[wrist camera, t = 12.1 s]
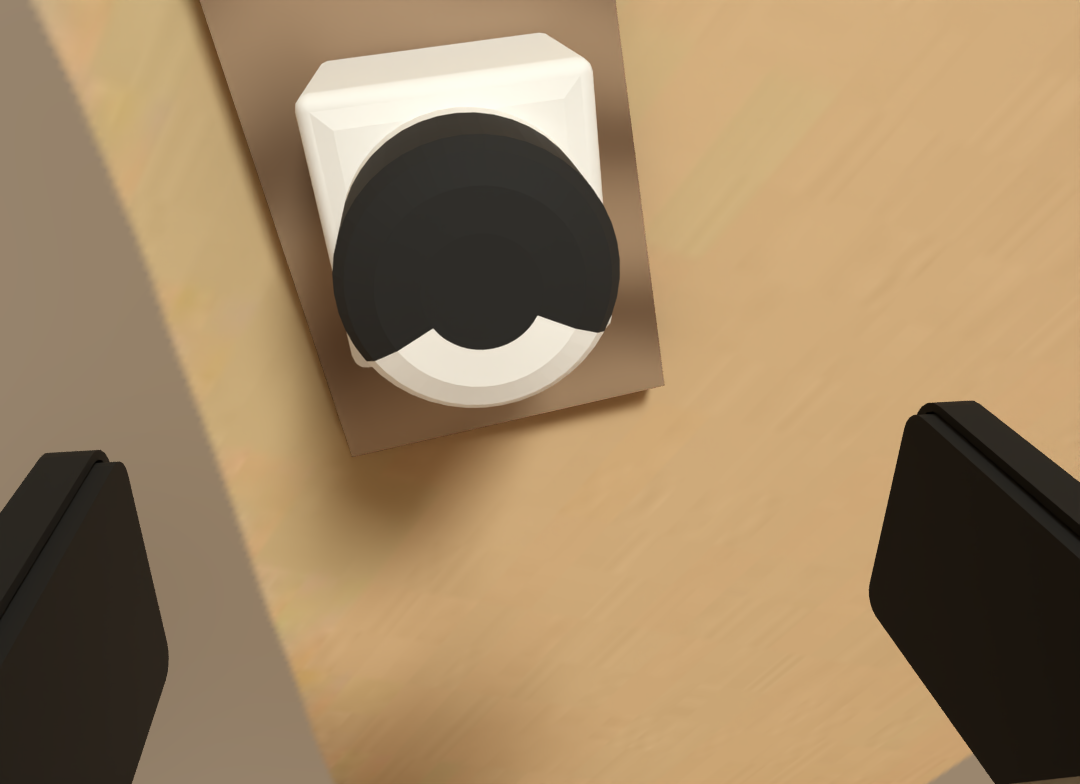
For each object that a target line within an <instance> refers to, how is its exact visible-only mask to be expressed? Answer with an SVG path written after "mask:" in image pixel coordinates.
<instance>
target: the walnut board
mask: <svg viewBox="0 0 1080 784" xmlns="http://www.w3.org/2000/svg"><path fill="white" fill-rule="evenodd" d="M200 3H201V6H202V9H203V12H204V15H205V18H206V21H207V24H208V27H209V30H210V33H211V36H212V39H213V42H214V45H215V48H216V51H217V54H218V57H219V60H220V63H221V66H222V69H223V72H224V75H225V78H226V81H227V84H228V87H229V90H230V93H231V96H232V99H233V102H234V105H235V108H236V111H237V114H238V117H239V120H240V123H241V126H242V129H243V132H244V135H245V138H246V141H247V144H248V147H249V150H250V153H251V156H252V159H253V162H254V165H255V168H256V171H257V174H258V176H259V179H260V182H261V185H262V188H263V191H264V194H265V197H266V200H267V203H268V206H269V209H270V212H271V215H272V218H273V221H274V224H275V227H276V230H277V233H278V236H279V239H280V242H281V245H282V248H283V251H284V254H285V257H286V260H287V263H288V266H289V269H290V272H291V275H292V278H293V281H294V284H295V287H296V290H297V293H298V296H299V299H300V302H301V305H302V308H303V311H304V314H305V317H306V320H307V323H308V326H309V329H310V332H311V335H312V338H313V341H314V344H315V347H316V350H317V353H318V356H319V359H320V362H321V365H322V368H323V371H324V374H325V377H326V380H327V383H328V386H329V389H330V392H331V395H332V398H333V401H334V404H335V407H336V410H337V413H338V416H339V419H340V422H341V425H342V428H343V431H344V434H345V437H346V440H347V443H348V446H349V449H350V452H351V455H352V457H354V456H359V455H363V454H368V453H372V452H376V451H381V450H385V449H389V448H394V447H398V446H403V445H407V444H411V443H416V442H420V441H424V440H429V439H433V438H437V437H442V436H446V435H451V434H455V433H459V432H464V431H468V430H472V429H477V428H481V427H486V426H490V425H494V424H499V423H503V422H507V421H512V420H516V419H521V418H525V417H529V416H534V415H538V414H542V413H547V412H551V411H556V410H560V409H564V408H569V407H573V406H577V405H582V404H586V403H591V402H595V401H599V400H604V399H608V398H612V397H617V396H621V395H625V394H630V393H634V392H639V391H643V390H647V389H652V388H656V387H660V386H665V385H664V378H663V370H662V362H661V354H660V346H659V338H658V330H657V323H656V315H655V307H654V299H653V291H652V283H651V275H650V268H649V260H648V252H647V244H646V236H645V228H644V220H643V213H642V205H641V197H640V189H639V181H638V173H637V166H636V158H635V150H634V142H633V134H632V126H631V118H630V111H629V103H628V95H627V87H626V79H625V71H624V63H623V56H622V48H621V40H620V32H619V24H618V16H617V8H616V1H615V0H200ZM533 33H545V34H547V35H548V36H550V37H552V38H553V39H555V40H556V41H558V42H560V43H561V44H563V45H564V46H566V47H567V48H569V49H571V50H572V51H574V52H575V53H577V54H579V55H580V56H582V57H583V58H585V59H586V60H587V61H588V62H589V63H590V64H591V67H592V70H593V81H594V94H595V106H596V119H597V132H598V145H599V158H600V170H601V183H602V196H603V205H604V207H605V209H606V211H607V213H608V216H609V218H610V220H611V222H612V225H613V228H614V232H615V235H616V239H617V243H618V250H619V257H620V280H619V287H618V294H617V299H616V302H615V306H614V309H613V312H612V317H611V322H610V324H609V325H608V327H607V328H606V329H605V331H604V333H603V334H602V336H601V337H600V339H599V341H598V342H597V344H596V346H595V347H594V348H593V350H592V351H591V352H590V353H589V354H588V356H587V357H586V358H585V359H584V360H583V362H582V363H580V364H579V365H578V366H577V367H576V368H575V369H574V370H573V371H572V372H571V373H570V374H569V375H567V376H566V377H564V378H563V379H562V380H560V381H559V382H557V383H556V384H555V385H553V386H551V387H549V388H548V389H546V390H544V391H542V392H540V393H538V394H536V395H533V396H531V397H528V398H526V399H523V400H521V401H517V402H513V403H509V404H506V405H500V406H493V407H486V408H463V407H454V406H447V405H442V404H438V403H434V402H430V401H427V400H425V399H422V398H419V397H417V396H414V395H412V394H410V393H408V392H406V391H404V390H402V389H401V388H399V387H397V386H395V385H394V384H392V383H391V382H390V381H388V380H387V379H385V378H384V377H383V376H381V375H380V374H379V373H378V372H377V371H376V370H375V369H374V368H373V367H361V366H359V365H358V364H356V362H355V360H354V359H353V357H352V354H351V349H350V345H349V341H348V337H347V332H346V331H345V328H344V326H343V323H342V321H341V318H340V316H339V313H338V309H337V305H336V301H335V297H334V290H333V278H332V268H331V264H330V259H329V255H328V251H327V247H326V242H325V238H324V234H323V229H322V225H321V221H320V217H319V212H318V208H317V204H316V199H315V195H314V191H313V187H312V182H311V178H310V174H309V169H308V165H307V161H306V157H305V152H304V148H303V144H302V139H301V135H300V131H299V127H298V122H297V118H296V114H295V103H296V102H297V100H298V99H299V97H300V96H301V94H302V93H303V91H304V90H305V88H306V87H307V85H308V84H309V82H310V81H311V79H312V78H313V76H314V74H315V73H316V71H317V70H318V68H319V67H320V65H321V64H322V63H324V62H326V61H331V60H339V59H346V58H354V57H361V56H368V55H376V54H383V53H391V52H398V51H406V50H413V49H421V48H428V47H436V46H443V45H451V44H458V43H465V42H473V41H480V40H488V39H495V38H503V37H510V36H518V35H525V34H533Z"/></svg>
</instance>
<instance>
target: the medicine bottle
mask: <svg viewBox="0 0 1080 784" xmlns="http://www.w3.org/2000/svg"><path fill="white" fill-rule="evenodd" d="M295 114H296V118H297V122H298V127H299V131H300V135H301V139H302V144H303V148H304V152H305V157H306V161H307V165H308V169H309V174H310V178H311V182H312V187H313V191H314V195H315V199H316V204H317V208H318V212H319V217H320V221H321V225H322V229H323V234H324V238H325V242H326V247H327V251H328V255H329V259H330V264H331V268H332V278H333V290H334V297H335V301H336V305H337V309H338V313H339V316H340V318H341V321H342V323H343V326H344V328H345V331H346V332H347V337H348V341H349V345H350V349H351V354H352V357H353V359H354V360H355V362H356V364H358V365H359V366H361V367H373V368H374V369H375V370H376V371H377V372H378V373H379V374H380V375H381V376H383V377H384V378H385V379H387V380H388V381H390V382H391V383H392V384H394V385H395V386H397V387H399V388H401V389H402V390H404V391H406V392H408V393H410V394H412V395H414V396H417V397H419V398H422V399H425V400H427V401H430V402H434V403H438V404H442V405H447V406H454V407H463V408H486V407H493V406H500V405H506V404H509V403H513V402H517V401H521V400H523V399H526V398H528V397H531V396H533V395H536V394H538V393H540V392H542V391H544V390H546V389H548V388H549V387H551V386H553V385H555V384H556V383H557V382H559V381H560V380H562V379H563V378H564V377H566V376H567V375H569V374H570V373H571V372H572V371H573V370H574V369H575V368H576V367H577V366H578V365H579V364H580V363H582V362H583V360H584V359H585V358H586V357H587V356H588V354H589V353H590V352H591V351H592V350H593V348H594V347H595V346H596V344H597V342H598V341H599V339H600V337H601V336H602V334H603V333H604V331H605V329H606V328H607V327H608V325H609V324H610V322H611V317H612V312H613V309H614V306H615V302H616V299H617V294H618V287H619V280H620V257H619V250H618V243H617V239H616V235H615V232H614V228H613V225H612V222H611V220H610V218H609V216H608V213H607V211H606V209H605V207H604V205H603V196H602V183H601V170H600V158H599V145H598V132H597V119H596V106H595V94H594V81H593V70H592V67H591V64H590V63H589V62H588V61H587V60H586V59H585V58H583V57H582V56H580V55H579V54H577V53H575V52H574V51H572V50H571V49H569V48H567V47H566V46H564V45H563V44H561V43H560V42H558V41H556V40H555V39H553V38H552V37H550V36H548V35H547V34H545V33H533V34H525V35H518V36H510V37H503V38H495V39H488V40H480V41H473V42H465V43H458V44H451V45H443V46H436V47H428V48H421V49H413V50H406V51H398V52H391V53H383V54H376V55H368V56H361V57H354V58H346V59H339V60H331V61H326V62H324V63H322V64H321V65H320V67H319V68H318V70H317V71H316V73H315V74H314V76H313V78H312V79H311V81H310V82H309V84H308V85H307V87H306V88H305V90H304V91H303V93H302V94H301V96H300V97H299V99H298V100H297V102H296V103H295Z"/></svg>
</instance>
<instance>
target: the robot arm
mask: <svg viewBox="0 0 1080 784" xmlns="http://www.w3.org/2000/svg"><path fill="white" fill-rule="evenodd" d="M869 598H870V603H871V607H872V609H873V612H874V614H875V615H876V617H877V619H878V620H879V621H880V623H881V624H882V626H883V627H884V628H885V630H886V631H887V633H888V634H889V635H890V637H891V638H892V640H893V641H894V643H895V644H896V645H897V647H898V648H899V650H900V651H901V652H902V654H903V655H904V657H905V658H906V659H907V661H908V662H909V664H910V665H911V666H912V668H913V669H914V671H915V672H916V673H917V675H918V676H919V678H920V679H921V681H922V682H923V683H924V685H925V686H926V688H927V689H928V690H929V692H930V693H931V695H932V696H933V697H934V699H935V700H936V702H937V703H938V704H939V706H940V707H941V709H942V710H943V711H944V713H945V714H946V716H947V717H948V718H949V720H950V721H951V723H952V724H953V726H954V727H955V728H956V730H957V731H958V733H959V734H960V735H961V737H962V738H963V740H964V741H965V742H966V744H967V745H968V747H969V748H970V749H971V751H972V752H973V754H974V755H975V756H976V758H977V759H978V761H979V762H980V764H981V765H982V766H983V768H984V769H985V771H986V772H987V773H988V775H989V776H990V778H991V779H992V780H993V782H994V783H995V784H1080V482H1079V481H1077V480H1076V479H1075V478H1073V477H1072V476H1071V475H1070V474H1068V473H1067V472H1066V471H1065V470H1063V469H1062V468H1061V467H1059V466H1058V465H1057V464H1056V463H1054V462H1053V461H1052V460H1051V459H1049V458H1048V457H1047V456H1045V455H1044V454H1043V453H1042V452H1040V451H1039V450H1038V449H1036V448H1035V447H1034V446H1033V445H1031V444H1030V443H1029V442H1028V441H1026V440H1025V439H1024V438H1022V437H1021V436H1020V435H1019V434H1017V433H1016V432H1015V431H1014V430H1012V429H1011V428H1010V427H1008V426H1007V425H1006V424H1005V423H1003V422H1002V421H1001V420H999V419H998V418H997V417H996V416H994V415H993V414H992V413H991V412H989V411H988V410H987V409H985V408H984V407H983V406H982V405H980V404H979V403H977V402H975V401H955V402H937V403H927V404H925V405H924V406H922V407H921V409H920V410H919V411H918V413H917V415H913V416H911V417H910V418H909V419H908V421H907V422H906V425H905V428H904V432H903V437H902V441H901V446H900V450H899V455H898V459H897V464H896V468H895V473H894V477H893V482H892V486H891V491H890V495H889V500H888V504H887V508H886V513H885V517H884V522H883V526H882V531H881V535H880V540H879V544H878V549H877V553H876V558H875V562H874V567H873V571H872V576H871V580H870V585H869ZM168 657H169V656H168V646H167V641H166V636H165V632H164V628H163V623H162V619H161V615H160V610H159V606H158V602H157V598H156V593H155V589H154V584H153V580H152V576H151V572H150V567H149V563H148V559H147V554H146V550H145V546H144V541H143V537H142V533H141V528H140V524H139V520H138V516H137V511H136V507H135V503H134V498H133V494H132V490H131V485H130V481H129V477H128V473H127V470H126V468H125V466H124V464H123V463H121V462H109V459H108V458H107V456H106V454H105V453H104V452H102V451H101V450H92V451H74V452H57V453H45V454H44V455H43V456H42V457H41V458H40V459H39V460H38V461H37V463H36V464H35V466H34V467H33V468H32V470H31V471H30V473H29V474H28V475H27V477H26V478H25V480H24V481H23V482H22V484H21V485H20V486H19V488H18V489H17V490H16V492H15V493H14V495H13V496H12V498H11V499H10V500H9V502H8V503H7V505H6V506H5V507H4V509H3V510H2V511H1V513H0V784H132V781H133V778H134V775H135V772H136V769H137V766H138V763H139V760H140V757H141V754H142V750H143V748H144V745H145V741H146V739H147V735H148V732H149V729H150V726H151V723H152V720H153V717H154V714H155V711H156V708H157V705H158V702H159V699H160V696H161V693H162V689H163V687H164V684H165V681H166V676H167V672H168V659H169V658H168Z"/></svg>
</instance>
